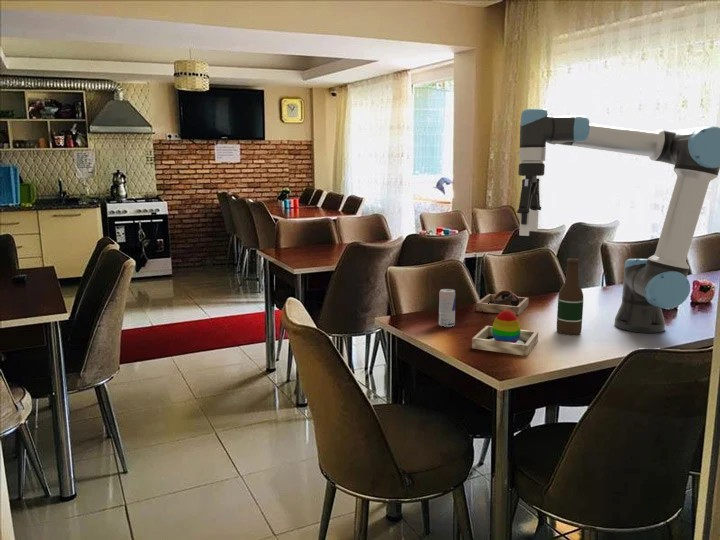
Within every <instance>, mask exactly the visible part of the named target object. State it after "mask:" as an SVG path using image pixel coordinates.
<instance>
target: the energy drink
mask: <svg viewBox="0 0 720 540" xmlns="http://www.w3.org/2000/svg"><path fill="white" fill-rule="evenodd" d="M438 295H439V297H438V299H439V300H438V303H439V304H438V325H439V326H440V327H442V326H444V327H445V328H451V327H452V326H453V327H454V326H455V325H456V290H455V289H452V288H442V289H440V290H439V292H438ZM444 327H443V328H444Z"/></svg>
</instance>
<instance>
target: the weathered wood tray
mask: <svg viewBox="0 0 720 540" xmlns="http://www.w3.org/2000/svg"><path fill="white" fill-rule="evenodd" d="M495 295H496V294H491V293H488V294H487V295H484V297H483V298H481V299H480V300H479V301H477V302H476V305H475V306H476V308H475V309H476V310H475V311H476V312H482V311H483V313H493V314H499V313H501V312H502V311H504V310H509V311H511V312H513V313H514V314H515V315H516V316H520V315H521V314H522V313H523V312H524V311H525V309H527V307H528V306H529V303H530V302H529V301H530V299H529V297H525V296H522V297H521V296H517V297H518V299H519V302H520V304H519V305H518V306H512V305H511V306H510V305H498V304H494V296H495ZM496 300H503V299H502V298H501V296H500V297H498V298H497V299H496ZM488 303H489V304H488Z"/></svg>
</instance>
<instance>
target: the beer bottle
mask: <svg viewBox="0 0 720 540" xmlns="http://www.w3.org/2000/svg"><path fill="white" fill-rule="evenodd" d="M566 262H567V265H566V274H565V280H564V284H562V286H561V287H560V289H559V291H558V298H557V311H556V313H557V315H556V331H557V333H558V334H560V335H563V334H564V335H565V336H574V335H575V336H579V335H581V334H582V330H583V329H582V327H583V313H584V293H583V290H582V287H581V286H580V284H579V264H580V260H579V259H578V258H576V257H575V258H573V257H572V258H570V257H569V258H567V259H566Z"/></svg>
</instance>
